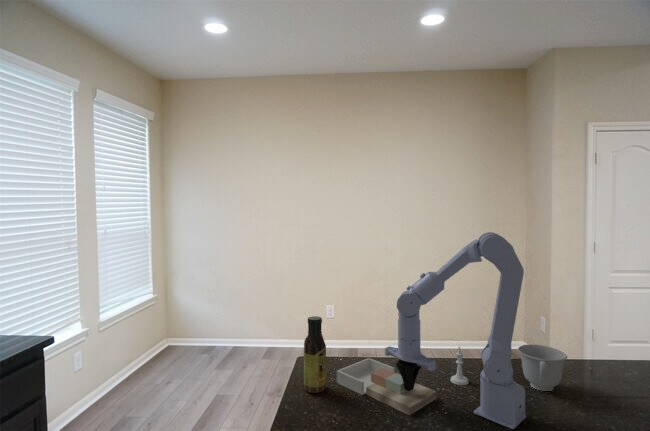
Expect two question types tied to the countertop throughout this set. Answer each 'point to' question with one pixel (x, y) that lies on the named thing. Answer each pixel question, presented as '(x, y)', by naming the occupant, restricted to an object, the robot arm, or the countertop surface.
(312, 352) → the sauce bottle
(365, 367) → the tray
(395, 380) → the tile sage
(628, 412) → the countertop surface
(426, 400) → the board
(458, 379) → the chess piece
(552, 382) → the teacup
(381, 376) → the tile terracotta
